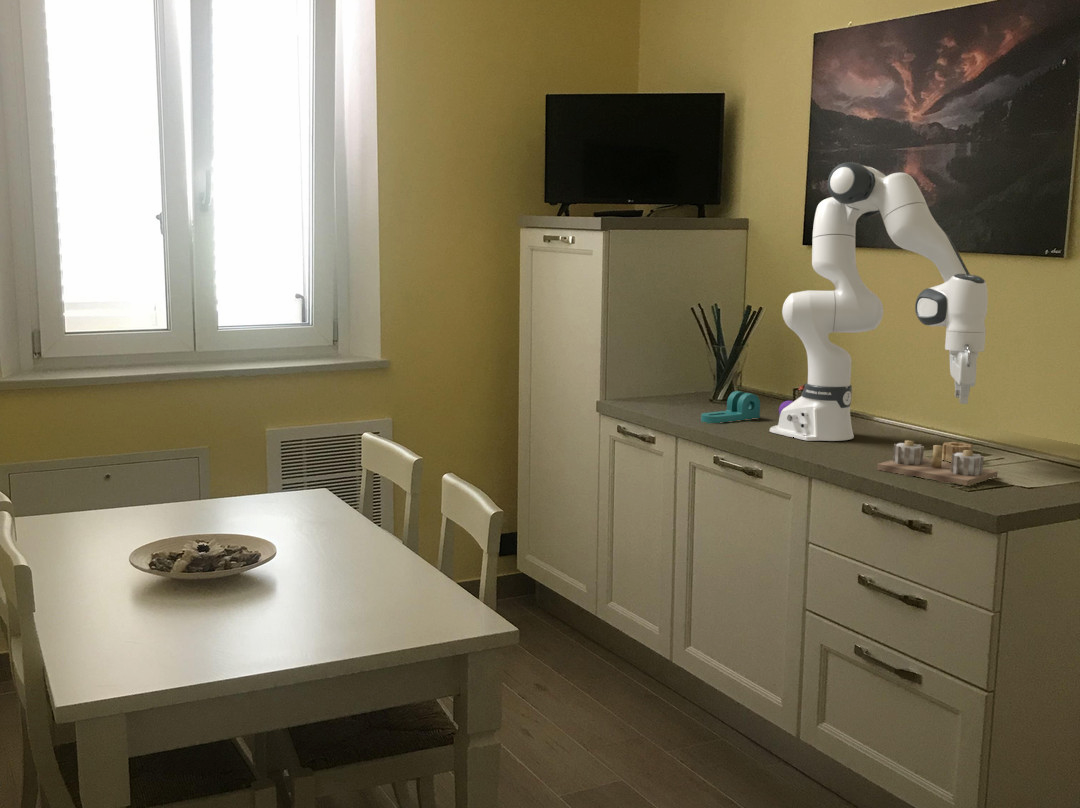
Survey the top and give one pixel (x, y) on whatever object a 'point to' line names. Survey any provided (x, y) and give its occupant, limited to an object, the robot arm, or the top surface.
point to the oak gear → (953, 449)
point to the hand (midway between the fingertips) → (961, 400)
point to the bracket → (736, 409)
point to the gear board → (934, 472)
